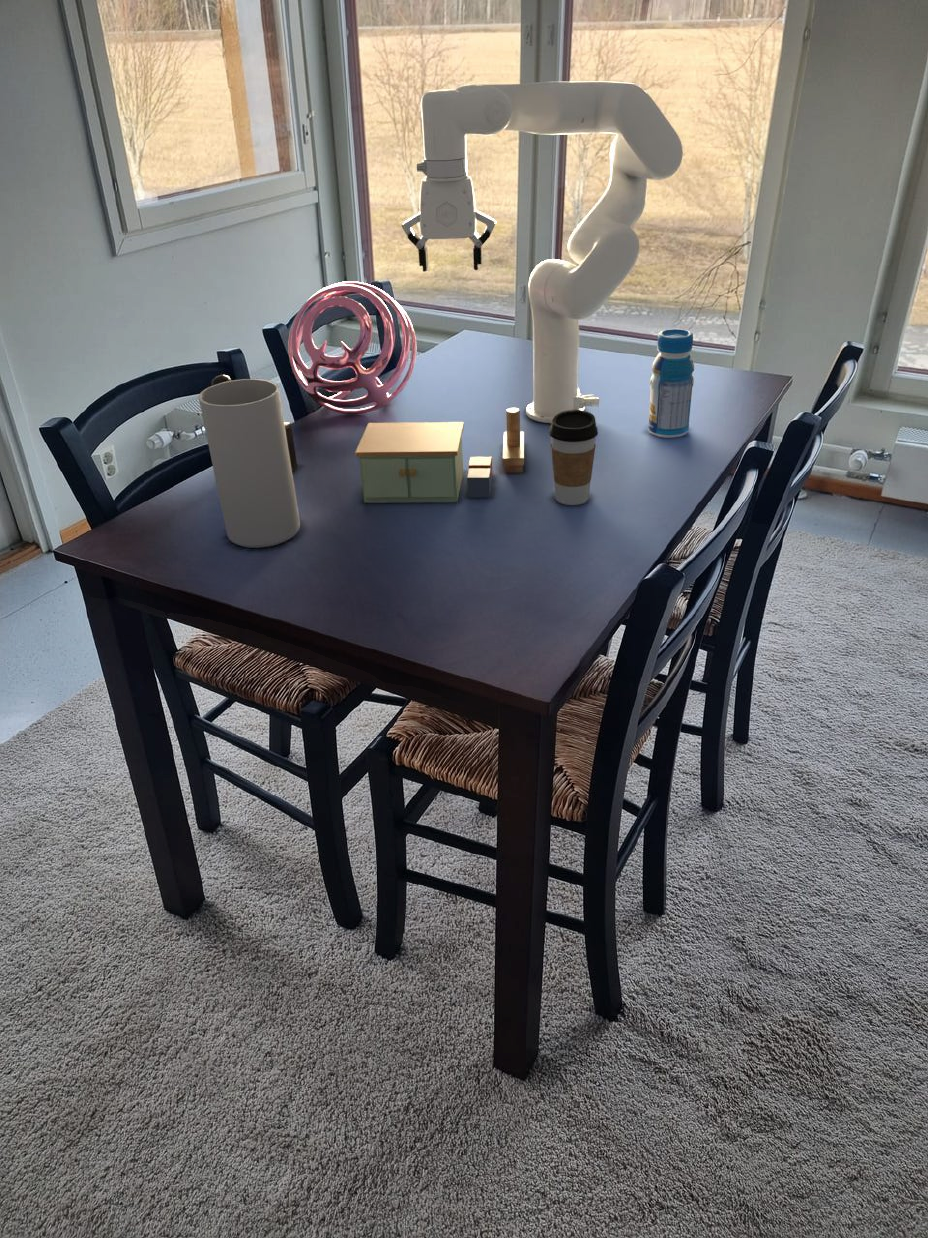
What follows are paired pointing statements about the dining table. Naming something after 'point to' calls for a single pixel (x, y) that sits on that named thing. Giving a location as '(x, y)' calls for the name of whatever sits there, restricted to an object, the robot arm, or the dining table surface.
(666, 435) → the beverage bottle
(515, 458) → the brush
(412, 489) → the cabinet
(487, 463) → the terracotta block
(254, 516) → the cylinder vase
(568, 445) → the coffee cup
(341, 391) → the pink openwork sphere
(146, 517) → the dining table surface
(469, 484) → the slate block
